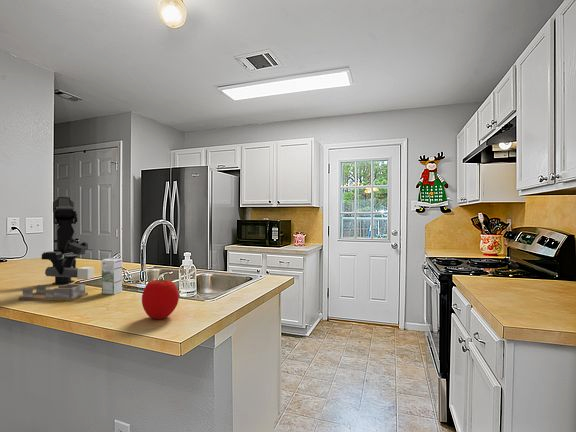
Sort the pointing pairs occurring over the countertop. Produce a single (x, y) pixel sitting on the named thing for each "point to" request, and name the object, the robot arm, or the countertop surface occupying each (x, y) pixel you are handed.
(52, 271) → the gray rod with block
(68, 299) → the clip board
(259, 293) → the countertop surface
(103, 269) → the syrup box
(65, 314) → the countertop surface
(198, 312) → the countertop surface
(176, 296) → the red apple
